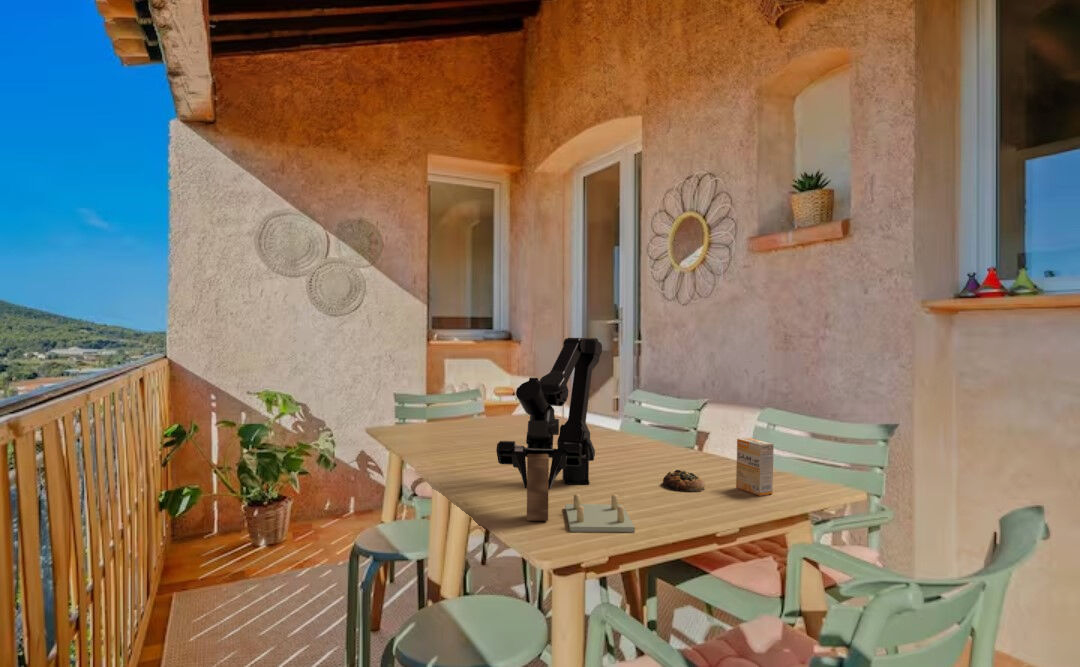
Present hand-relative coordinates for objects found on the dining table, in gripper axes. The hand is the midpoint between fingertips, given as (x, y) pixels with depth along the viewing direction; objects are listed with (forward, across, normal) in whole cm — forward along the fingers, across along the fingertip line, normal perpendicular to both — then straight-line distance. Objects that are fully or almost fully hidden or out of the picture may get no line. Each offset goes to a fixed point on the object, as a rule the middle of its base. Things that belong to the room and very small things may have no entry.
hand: (537, 487), depth 119 cm
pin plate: (+3, +13, +7) cm, 15 cm away
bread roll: (-17, +37, +28) cm, 49 cm away
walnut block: (+4, 0, +6) cm, 7 cm away
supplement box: (-15, +54, +26) cm, 62 cm away
